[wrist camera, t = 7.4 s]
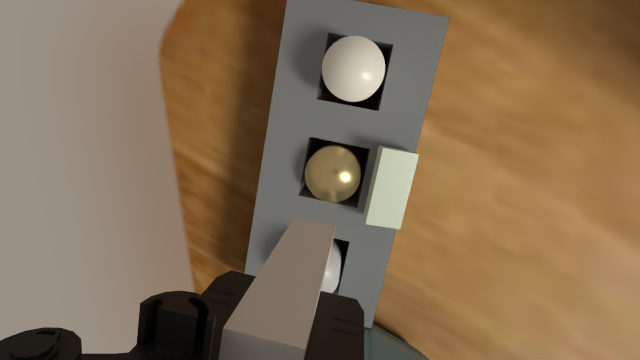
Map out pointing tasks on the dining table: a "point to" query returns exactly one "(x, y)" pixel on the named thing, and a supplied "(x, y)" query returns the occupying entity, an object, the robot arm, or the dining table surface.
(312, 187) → the brass button
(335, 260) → the white rounded dome
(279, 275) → the robot arm
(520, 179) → the dining table surface
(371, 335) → the flower pot
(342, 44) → the white rounded piece
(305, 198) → the console
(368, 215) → the block
